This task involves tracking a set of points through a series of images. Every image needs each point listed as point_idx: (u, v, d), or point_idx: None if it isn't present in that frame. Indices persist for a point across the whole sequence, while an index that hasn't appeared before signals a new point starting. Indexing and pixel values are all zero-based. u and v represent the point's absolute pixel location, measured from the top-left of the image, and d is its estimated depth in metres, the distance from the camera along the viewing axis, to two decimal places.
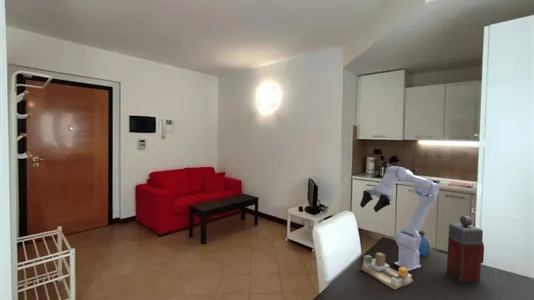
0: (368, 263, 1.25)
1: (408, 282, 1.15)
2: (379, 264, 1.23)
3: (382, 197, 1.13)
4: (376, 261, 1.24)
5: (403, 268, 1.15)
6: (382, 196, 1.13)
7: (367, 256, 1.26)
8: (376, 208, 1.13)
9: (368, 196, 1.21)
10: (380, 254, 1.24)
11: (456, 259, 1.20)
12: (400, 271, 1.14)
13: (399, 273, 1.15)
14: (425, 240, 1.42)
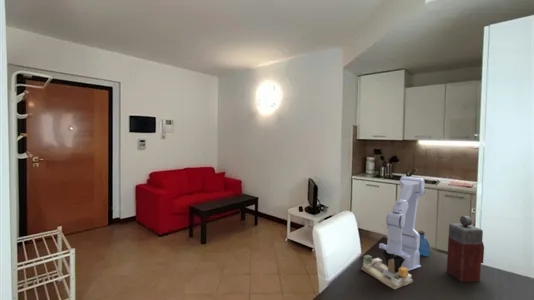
0: (368, 263, 1.25)
1: (408, 282, 1.15)
2: (392, 271, 1.17)
3: (396, 261, 1.14)
4: (389, 268, 1.18)
5: (403, 268, 1.15)
6: (395, 260, 1.14)
7: (367, 256, 1.26)
8: (397, 270, 1.16)
9: (390, 255, 1.19)
10: (393, 261, 1.17)
11: (456, 259, 1.20)
12: (400, 271, 1.14)
13: (399, 273, 1.15)
14: (425, 240, 1.42)
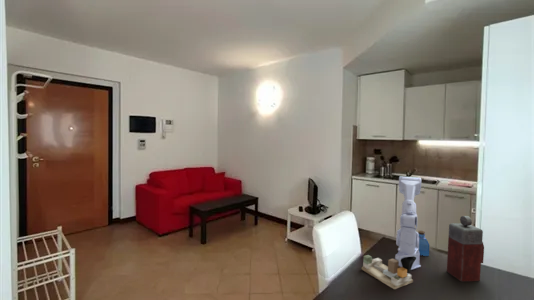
0: (368, 263, 1.25)
1: (408, 282, 1.15)
2: (392, 271, 1.17)
3: None
4: (389, 268, 1.18)
5: (402, 268, 1.14)
6: None
7: (367, 256, 1.26)
8: None
9: None
10: (393, 261, 1.18)
11: (456, 259, 1.20)
12: (399, 271, 1.14)
13: (398, 273, 1.14)
14: (425, 240, 1.42)
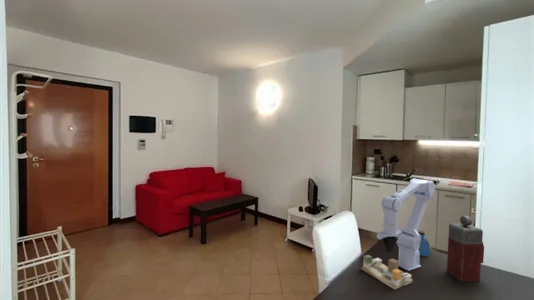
0: (368, 263, 1.25)
1: (408, 282, 1.15)
2: None
3: None
4: (389, 268, 1.18)
5: (397, 270, 1.13)
6: None
7: (367, 256, 1.26)
8: (386, 249, 1.23)
9: None
10: (393, 261, 1.18)
11: (456, 259, 1.20)
12: (394, 273, 1.12)
13: (393, 275, 1.13)
14: (425, 240, 1.42)
